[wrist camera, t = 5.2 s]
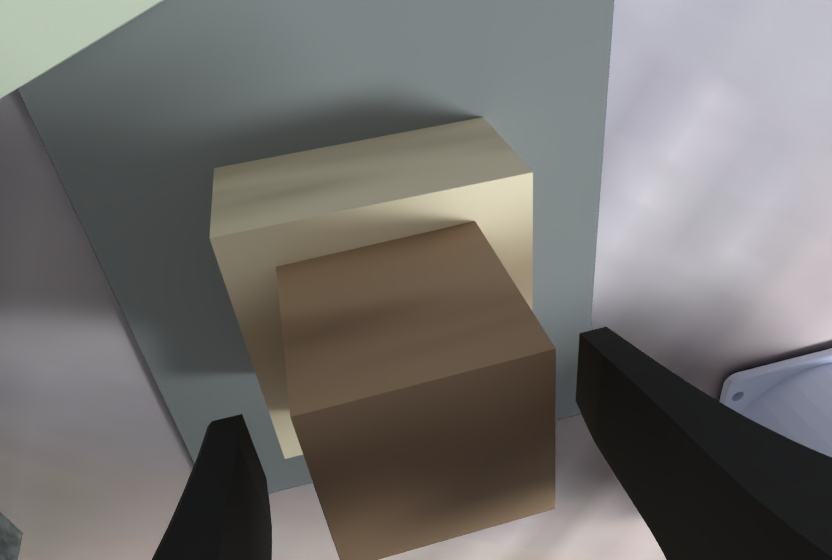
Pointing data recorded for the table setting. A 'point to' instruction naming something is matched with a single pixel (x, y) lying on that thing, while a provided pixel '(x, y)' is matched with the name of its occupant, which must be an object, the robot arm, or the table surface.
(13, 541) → the mortar and pestle
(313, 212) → the beech block
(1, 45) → the sage block
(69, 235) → the table surface
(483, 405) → the walnut cube
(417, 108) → the slate mat
